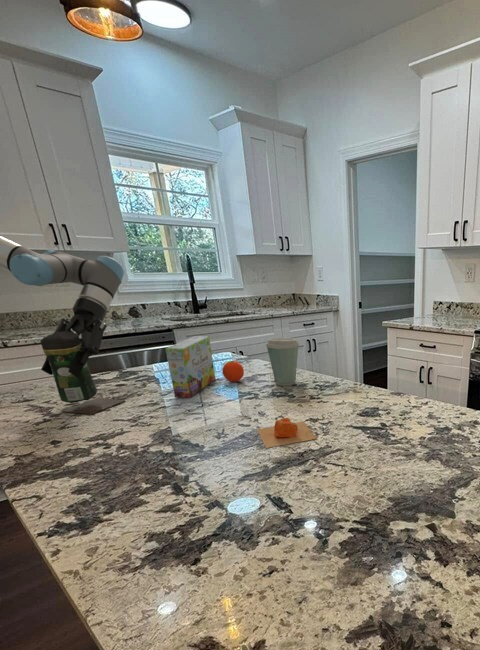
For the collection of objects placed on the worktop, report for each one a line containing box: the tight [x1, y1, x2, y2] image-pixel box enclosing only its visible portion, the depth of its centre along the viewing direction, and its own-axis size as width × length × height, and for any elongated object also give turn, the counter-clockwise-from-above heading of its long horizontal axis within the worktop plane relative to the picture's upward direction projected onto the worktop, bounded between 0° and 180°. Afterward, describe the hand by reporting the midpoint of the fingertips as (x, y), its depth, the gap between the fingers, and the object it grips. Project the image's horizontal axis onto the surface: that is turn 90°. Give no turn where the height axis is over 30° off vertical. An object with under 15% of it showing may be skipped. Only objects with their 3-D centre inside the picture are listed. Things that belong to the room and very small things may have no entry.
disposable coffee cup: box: [265, 337, 300, 387], centre depth 137 cm, size 11×11×15 cm
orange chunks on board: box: [256, 417, 318, 449], centre depth 100 cm, size 12×12×4 cm
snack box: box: [165, 335, 217, 399], centre depth 133 cm, size 21×6×15 cm, turn 1°
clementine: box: [221, 360, 245, 383], centre depth 142 cm, size 8×7×7 cm
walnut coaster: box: [61, 397, 126, 416], centre depth 120 cm, size 10×12×1 cm
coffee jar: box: [39, 330, 98, 404], centre depth 116 cm, size 10×8×19 cm
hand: (59, 373), depth 114 cm, fingers closed on coffee jar, 9 cm apart
